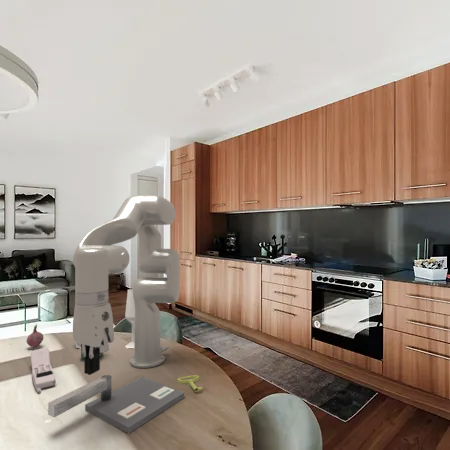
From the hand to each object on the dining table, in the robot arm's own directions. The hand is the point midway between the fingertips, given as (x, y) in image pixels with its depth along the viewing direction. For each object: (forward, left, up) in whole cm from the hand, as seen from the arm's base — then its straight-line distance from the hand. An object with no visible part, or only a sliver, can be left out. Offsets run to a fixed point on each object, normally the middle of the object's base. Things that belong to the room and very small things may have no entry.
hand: (92, 371), depth 77 cm
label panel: (-14, 0, -14) cm, 19 cm away
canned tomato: (-26, -40, -14) cm, 49 cm away
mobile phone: (-7, -39, -14) cm, 43 cm away
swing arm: (-2, -6, -12) cm, 14 cm away
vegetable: (-19, -70, -14) cm, 74 cm away
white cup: (-32, -55, -14) cm, 65 cm away
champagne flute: (-44, -38, -14) cm, 59 cm away
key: (-31, +6, -15) cm, 35 cm away
